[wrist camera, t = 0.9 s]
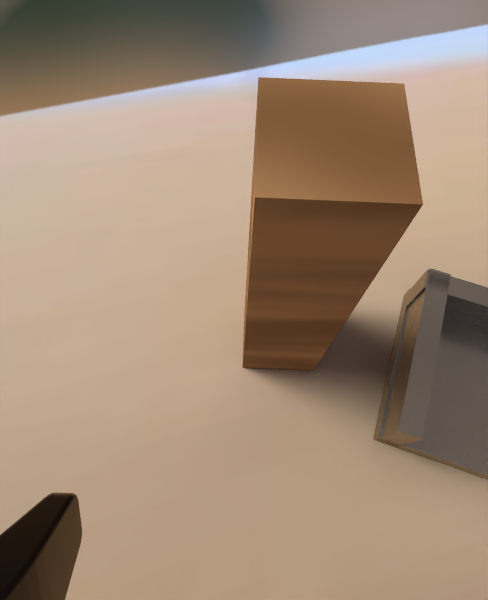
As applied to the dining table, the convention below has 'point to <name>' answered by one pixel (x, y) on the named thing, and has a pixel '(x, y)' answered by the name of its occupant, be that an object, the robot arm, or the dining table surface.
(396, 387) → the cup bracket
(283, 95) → the tall brown wooden block
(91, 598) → the dining table surface
